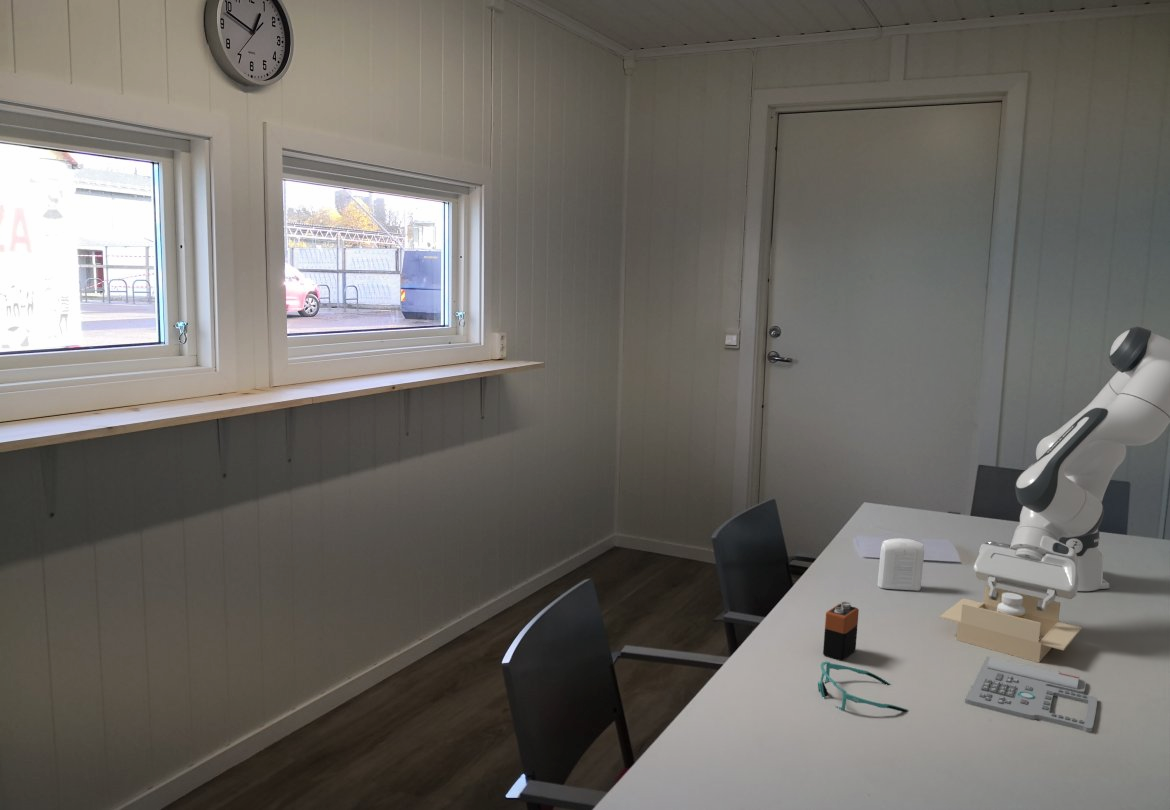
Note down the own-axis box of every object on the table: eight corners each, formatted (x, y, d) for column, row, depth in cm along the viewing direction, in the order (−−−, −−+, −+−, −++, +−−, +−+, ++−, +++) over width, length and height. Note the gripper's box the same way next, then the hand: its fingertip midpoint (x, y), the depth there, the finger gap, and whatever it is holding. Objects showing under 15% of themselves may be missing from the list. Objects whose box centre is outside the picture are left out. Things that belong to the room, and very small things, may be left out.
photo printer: (917, 586, 224) (922, 537, 222) (923, 592, 220) (927, 542, 218) (875, 584, 225) (879, 535, 223) (879, 589, 221) (883, 540, 219)
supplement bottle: (1025, 646, 189) (1029, 601, 187) (997, 643, 190) (1001, 598, 188) (1018, 636, 194) (1022, 592, 193) (991, 633, 195) (995, 590, 194)
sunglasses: (807, 678, 171) (812, 653, 170) (886, 689, 171) (891, 664, 170) (825, 714, 157) (830, 687, 156) (911, 726, 157) (916, 699, 156)
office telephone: (986, 649, 182) (1101, 675, 171) (985, 662, 182) (1099, 688, 172) (965, 691, 162) (1093, 723, 152) (964, 705, 162) (1091, 738, 152)
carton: (962, 614, 206) (965, 580, 204) (1080, 644, 190) (1084, 608, 189) (937, 634, 194) (940, 598, 192) (1061, 668, 178) (1065, 629, 177)
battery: (856, 651, 184) (860, 603, 182) (842, 661, 178) (846, 613, 177) (835, 645, 186) (839, 598, 185) (821, 655, 181) (825, 607, 180)
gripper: (980, 532, 202) (962, 584, 196) (1083, 551, 189) (1067, 608, 183) (985, 547, 206) (967, 599, 200) (1085, 567, 193) (1070, 623, 187)
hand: (1016, 604), depth 191 cm, fingers open, 8 cm apart
